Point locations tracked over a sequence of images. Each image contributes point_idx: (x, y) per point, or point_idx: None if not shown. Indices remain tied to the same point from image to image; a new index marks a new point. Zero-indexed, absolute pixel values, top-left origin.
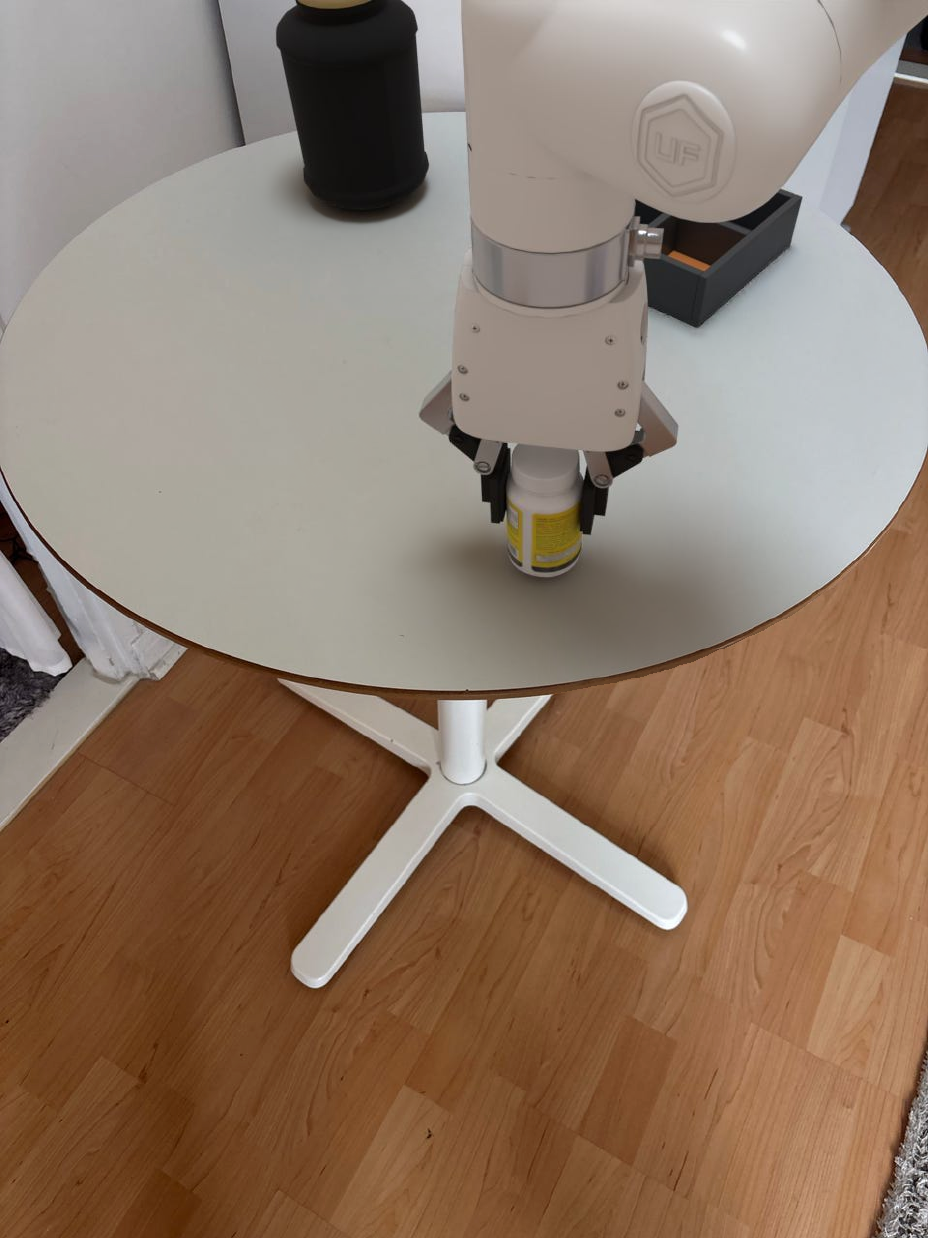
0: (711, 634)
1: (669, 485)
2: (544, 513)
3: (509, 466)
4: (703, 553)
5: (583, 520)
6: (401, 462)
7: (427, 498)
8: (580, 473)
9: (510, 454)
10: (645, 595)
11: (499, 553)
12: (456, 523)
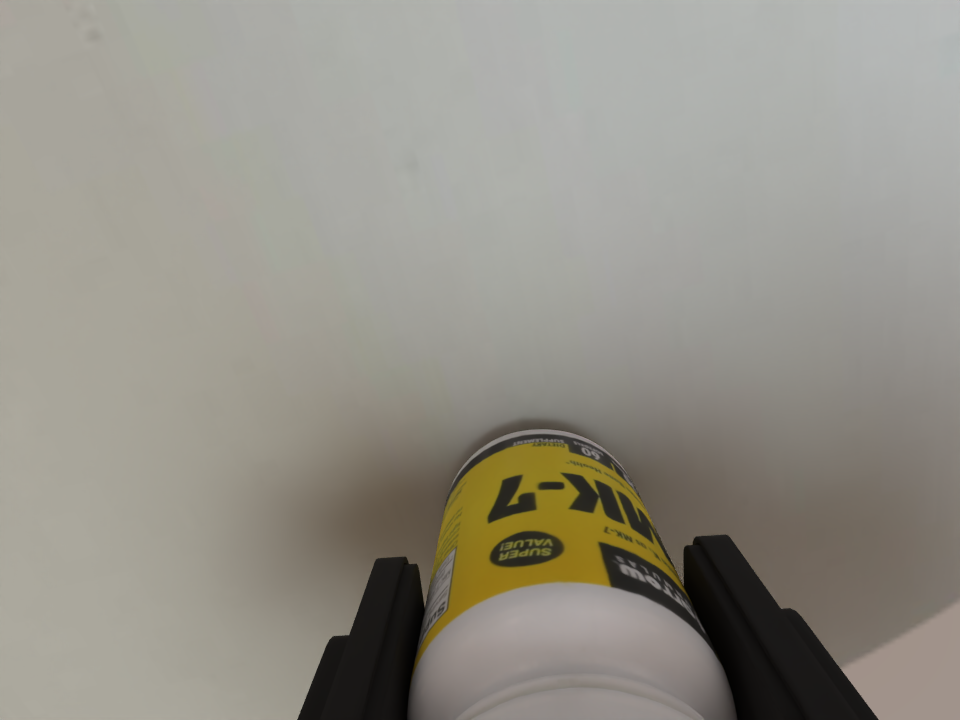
0: (948, 593)
1: (851, 129)
2: None
3: (396, 696)
4: (944, 371)
5: None
6: (34, 264)
7: (175, 380)
8: (718, 686)
9: (382, 708)
10: (796, 532)
11: (426, 504)
12: (287, 442)
